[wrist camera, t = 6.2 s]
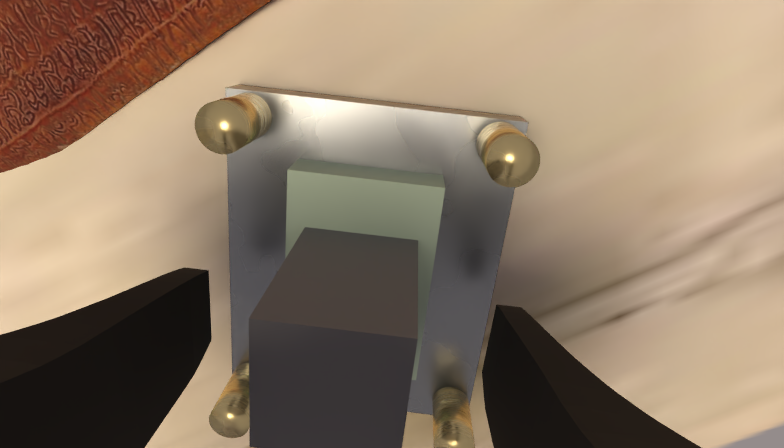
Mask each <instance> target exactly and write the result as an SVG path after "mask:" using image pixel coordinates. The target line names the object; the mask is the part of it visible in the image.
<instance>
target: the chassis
mask: <svg viewBox="0 0 784 448" xmlns="http://www.w3.org/2000/svg"><path fill="white" fill-rule="evenodd" d="M225 89H226V98H224V99H220V100H217V101H213V102H210V103H208V104H206V105H204V106H203V107H202V108H201V109H200V110H199V111H198V113H197V115H196V118H195V130H196V133H197V136H198V138H199V140H200V141H201V142H202V144H203V145H204V146H205V147H206V148H208V149H209V150H211V151H213V152H215V153H218V154H227V172H228V213H229V255H230V296H231V338H232V376H231V378H230V380H229V382H228V383H227V385H226V387H225V389H224V391H223V392H222V394H221V396H220V398H219V400H218V401H217V403H216V405H215V407H214V408H213V410H212V412H211V414H210V417H209V422H210V425H211V427H212V428H213V430H214V431H215V432H217V433H218V434H220V435H222V436H224V437H228V438H237V437H241V436H243V435H244V434H245V433H246V432H247V431H248V429H249V427H250V416H249V317H250V316H251V314H252V312H253V311H254V309H255V307H256V306H257V304H258V303H259V301H260V299H261V298H262V296H263V294H264V293H265V291H266V290H267V288H268V286H269V285H270V283H271V281H272V280H273V278H274V277H275V275H276V273H277V272H278V270H279V268H280V267H281V265H282V263H283V262H284V260H285V250H286V208H287V170H288V169H289V168H290V167H291V166H292V165H293V164H294V163H295V162H296V161H297V160H298V159H306V160H315V161H324V162H332V163H341V164H349V165H358V166H367V167H375V168H384V169H393V170H401V171H410V172H419V173H427V174H436V175H443V178H444V183H445V194H444V200H443V207H442V213H441V220H440V226H439V233H438V240H437V246H436V253H435V259H434V266H433V272H432V279H431V285H430V292H429V299H428V305H427V312H426V318H425V325H424V331H423V338H422V344H421V351H420V358H419V364H418V371H417V377H416V380H412V381H411V388H410V395H409V401H408V408H407V412H414V413H422V414H430V415H433V434H434V448H475V444H474V437H473V430H472V423H471V416H470V408H469V405H470V400H471V395H472V390H473V386H474V381H475V376H476V371H477V366H478V362H479V357H480V352H481V347H482V343H483V338H484V333H485V328H486V323H487V319H488V314H489V309H490V304H491V299H492V295H493V290H494V285H495V280H496V276H497V271H498V266H499V261H500V256H501V252H502V247H503V242H504V237H505V232H506V228H507V223H508V218H509V213H510V209H511V204H512V199H513V194H514V189H515V187H518V186H521V185H524V184H526V183H527V182H529V181H530V180H531V179H532V178H533V177H534V176H535V174H536V172H537V171H538V168H539V165H540V154H539V151H538V149H537V147H536V145H535V144H534V143H533V142H532V141H531V140H530V139H528V138H527V137H526V132H527V127H528V122H527V121H526V120H525V119H523V118H522V117H519V116H510V115H502V114H493V113H484V112H475V111H467V110H458V109H449V108H440V107H431V106H423V105H414V104H405V103H396V102H388V101H379V100H370V99H361V98H353V97H344V96H335V95H326V94H318V93H309V92H300V91H291V90H282V89H274V88H265V87H256V86H247V85H235V86H231V87H227V88H225Z"/></svg>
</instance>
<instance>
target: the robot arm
mask: <svg viewBox="0 0 784 448" xmlns="http://www.w3.org/2000/svg"><path fill="white" fill-rule="evenodd" d="M210 342H211V317H210V293H209V270H200V269H192V268H182V269H178V270H175V271H172V272H170V273H167V274H165V275H162V276H160V277H157V278H155V279H152V280H150V281H148V282H145V283H143V284H140V285H138V286H136V287H133V288H131V289H129V290H126V291H124V292H121V293H119V294H117V295H114V296H112V297H110V298H107V299H104V300H102V301H99V302H97V303H94V304H91V305H89V306H86V307H84V308H81V309H78V310H76V311H73V312H71V313H68V314H65V315H63V316H60V317H57V318H54V319H51V320H48V321H45V322H42V323H39V324H36V325H32V326H29V327H26V328H22V329H19V330H16V331H13V332H9V333H6V334H2V335H0V448H145V446H146V445H147V443H148V442H149V440H150V439H151V437H152V436H153V435H154V433H155V432H156V430H157V429H158V427H159V426H160V424H161V423H162V421H163V420H164V418H165V417H166V416H167V414H168V413H169V411H170V410H171V408H172V407H173V405H174V404H175V402H176V401H177V400H178V398H179V397H180V395H181V394H182V392H183V391H184V389H185V388H186V386H187V385H188V383H189V382H190V380H191V379H192V377H193V376H194V374H195V372H196V370H197V368H198V366H199V364H200V362H201V360H202V359H203V356H204V354H205V352H206V350H207V348H208V346H209V344H210ZM482 378H483V390H484V401H485V410H486V414H487V419H488V424H489V428H490V433H491V437H492V442H493V446H494V448H701V447H700V446H698V445H696V444H694V443H693V442H691V441H689V440H688V439H686V438H684V437H683V436H681V435H679V434H678V433H676V432H674V431H673V430H671V429H670V428H668V427H666V426H665V425H663V424H661V423H660V422H658V421H657V420H655V419H654V418H652V417H651V416H649V415H648V414H646V413H645V412H643V411H642V410H640V409H639V408H638V407H636V406H635V405H633V404H632V403H631V402H629V401H628V400H626V399H625V398H624V397H622V396H621V395H619V394H618V393H617V392H615V391H614V390H613V389H611V388H610V387H609V386H607V385H606V384H605V383H604V382H603V381H601V380H600V379H599V378H598V377H597V376H595V375H594V374H593V373H592V372H591V371H589V370H588V369H587V368H586V367H585V366H583V365H582V364H581V363H580V362H579V361H578V360H577V359H575V358H574V357H573V356H572V355H571V354H570V353H569V352H568V351H567V350H566V349H565V348H563V347H562V346H561V345H560V344H559V343H558V342H557V341H556V340H555V339H554V338H553V337H552V336H551V335H550V334H549V333H548V332H547V331H546V330H545V329H544V328H543V327H542V326H541V325H540V324H539V323H538V322H536V321H535V320H534V319H533V318H532V317H531V316H530V315H529V314H528V313H527V312H526V311H525V310H523V309H522V308H520V307H512V306H503V305H496V310H495V314H494V319H493V324H492V328H491V333H490V338H489V342H488V347H487V351H486V356H485V361H484V365H483V370H482Z"/></svg>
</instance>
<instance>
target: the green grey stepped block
mask: <svg viewBox="0 0 784 448" xmlns="http://www.w3.org/2000/svg"><path fill="white" fill-rule="evenodd" d="M444 194H445V183H444V178H443V175H436V174H427V173H419V172H410V171H401V170H393V169H384V168H375V167H367V166H358V165H349V164H341V163H332V162H324V161H315V160H306V159H298V160H297V161H296V162H295V163H294V164H293V165H292V166H291V167H290V168H289V169H288V170H287V208H286V250H285V260H284V262H283V263H282V265H281V267H280V268H279V270H278V272H277V273H276V275H275V277H274V278H273V280H272V281H271V283H270V285H269V286H268V288H267V290H266V291H265V293H264V294H263V296H262V298H261V299H260V301H259V303H258V304H257V306H256V307H255V309H254V311H253V312H252V314H251V316H250V317H249V416H250V447H257V448H402V442H403V435H404V428H405V422H406V415H407V408H408V401H409V395H410V388H411V381H412V380H416V377H417V371H418V364H419V358H420V351H421V344H422V338H423V331H424V325H425V318H426V312H427V305H428V299H429V292H430V285H431V279H432V272H433V266H434V259H435V253H436V246H437V240H438V233H439V226H440V220H441V213H442V207H443V200H444Z"/></svg>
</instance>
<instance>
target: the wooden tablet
mask: <svg viewBox="0 0 784 448" xmlns="http://www.w3.org/2000/svg"><path fill="white" fill-rule="evenodd" d="M270 1H271V0H0V173H1V172H5V171H8V170H11V169H14V168H17V167H20V166H23V165H27V164H29V163H31V162H34V161H37V160H39V159H42V158H46V157H48V156H50V155H52V154H55V153H57V152H60V151H62V150H63V149H65V148H66V147H68V146H69V145H71V144H72V143H74V142H75V141H77V140H79V139H80V138H81V137H83V136H84V135H86V134H87V133H89V132H90V131H91V130H93V129H94V128H95V127H96V126H98V125H99V124H100V123H102V122H103V121H104V120H106V119H107V118H108V117H109V116H111V115H112V114H114V113H115V112H117V111H118V110H120V109H121V108H122V107H123V106H124V105H125V104H127V103H128V102H129V101H131V100H132V99H134V98H135V97H136V96H138V95H139V94H141V93H142V92H143V91H145V90H146V89H148V88H149V87H151V86H152V85H153V84H154V83H156V82H158V81H160V80H162V79H163V78H164V77H165V76H167V75H168V74H169V73H170V72H172V71H173V70H174V69H176V68H177V67H178V66H180V65H181V64H182V63H183V62H184V61H186V60H187V59H189V58H191V57H193V56H194V55H195V54H196V53H198V52H199V51H200V50H201V49H203V48H204V47H205V46H206V45H208V44H209V43H211V42H212V41H213V40H215V39H216V38H217V37H219V36H220V35H222V34H223V33H224V32H226V31H227V30H229V29H230V28H232V27H233V26H235V25H237V24H238V23H239V22H241V21H242V20H243V19H245V18H246V17H248V16H249V15H250V14H252V13H253V12H254V11H256V10H257V9H259V8H261V7H262V6H264V5H265V4H267V3H269V2H270Z"/></svg>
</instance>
